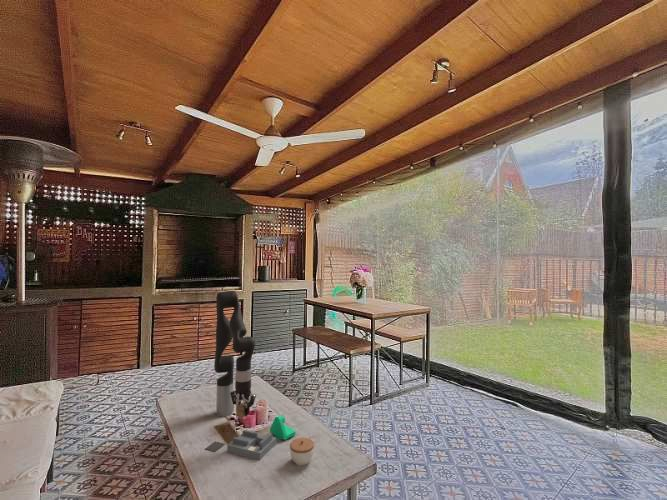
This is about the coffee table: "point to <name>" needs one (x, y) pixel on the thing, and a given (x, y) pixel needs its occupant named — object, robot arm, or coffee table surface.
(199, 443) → the coffee table surface
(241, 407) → the block
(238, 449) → the rail board
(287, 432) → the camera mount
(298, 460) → the lidded jar
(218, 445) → the mat
